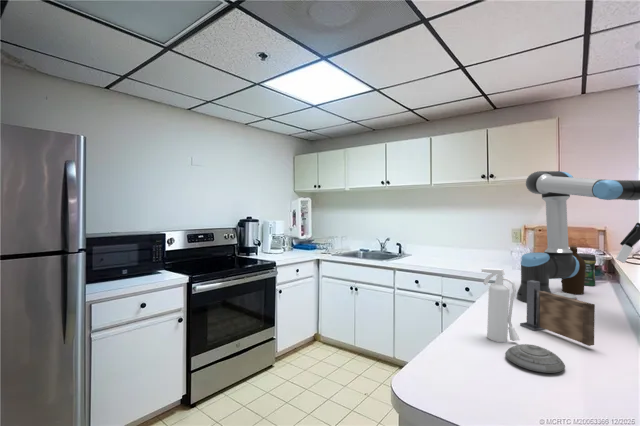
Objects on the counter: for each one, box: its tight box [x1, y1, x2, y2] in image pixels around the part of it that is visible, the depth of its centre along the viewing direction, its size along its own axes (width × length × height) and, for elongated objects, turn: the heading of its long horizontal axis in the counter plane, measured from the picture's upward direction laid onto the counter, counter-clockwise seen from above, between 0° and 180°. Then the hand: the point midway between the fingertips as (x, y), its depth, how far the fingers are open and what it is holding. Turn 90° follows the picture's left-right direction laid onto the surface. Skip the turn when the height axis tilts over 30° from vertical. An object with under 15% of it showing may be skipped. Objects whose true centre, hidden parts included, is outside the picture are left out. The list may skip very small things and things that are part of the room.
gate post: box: [519, 280, 546, 332], centre depth 126 cm, size 6×6×18 cm
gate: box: [537, 290, 596, 347], centre depth 115 cm, size 19×2×13 cm, turn 18°
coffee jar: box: [577, 252, 597, 287], centre depth 194 cm, size 10×8×19 cm
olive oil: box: [560, 245, 586, 296], centre depth 176 cm, size 11×11×25 cm
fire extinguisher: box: [481, 267, 521, 343], centre depth 115 cm, size 7×12×25 cm, turn 42°
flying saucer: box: [504, 343, 566, 374], centre depth 98 cm, size 15×15×6 cm
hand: (633, 258), depth 114 cm, fingers open, 13 cm apart
